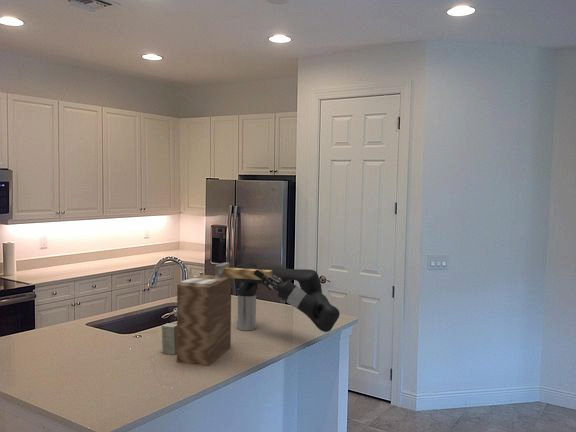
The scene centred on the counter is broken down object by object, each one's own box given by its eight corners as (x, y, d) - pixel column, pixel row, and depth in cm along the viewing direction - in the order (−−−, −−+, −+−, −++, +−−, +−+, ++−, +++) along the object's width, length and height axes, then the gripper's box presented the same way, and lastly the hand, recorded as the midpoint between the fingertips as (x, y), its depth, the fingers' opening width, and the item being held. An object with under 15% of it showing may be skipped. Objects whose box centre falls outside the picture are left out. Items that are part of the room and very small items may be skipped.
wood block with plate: (274, 277, 209) (274, 265, 208) (267, 281, 200) (267, 269, 200) (223, 274, 215) (223, 262, 214) (215, 278, 206) (215, 265, 206)
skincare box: (179, 351, 223) (179, 324, 222) (174, 355, 219) (174, 327, 218) (167, 349, 225) (167, 322, 224) (161, 353, 221) (161, 325, 220)
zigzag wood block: (230, 347, 230) (231, 274, 228) (208, 365, 207) (209, 285, 205) (201, 344, 234) (202, 272, 231) (176, 362, 211) (177, 282, 208)
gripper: (301, 283, 209) (266, 260, 212) (292, 290, 195) (255, 265, 198) (292, 298, 210) (257, 275, 213) (282, 306, 196) (246, 281, 200)
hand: (256, 270), depth 206 cm, fingers closed on wood block with plate, 3 cm apart
